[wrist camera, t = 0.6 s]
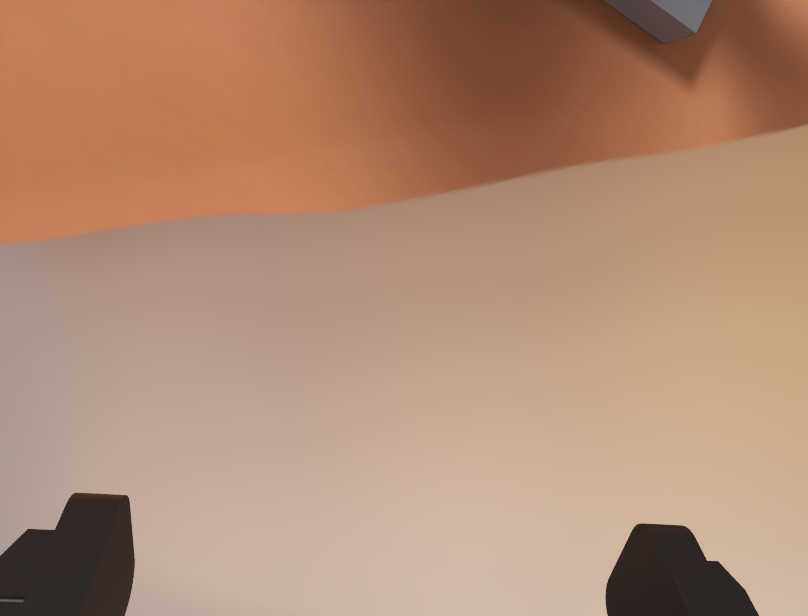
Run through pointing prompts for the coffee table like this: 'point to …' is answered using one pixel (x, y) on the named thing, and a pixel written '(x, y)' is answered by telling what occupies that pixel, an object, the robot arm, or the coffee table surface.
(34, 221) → the coffee table surface
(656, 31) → the socket block
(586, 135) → the coffee table surface
